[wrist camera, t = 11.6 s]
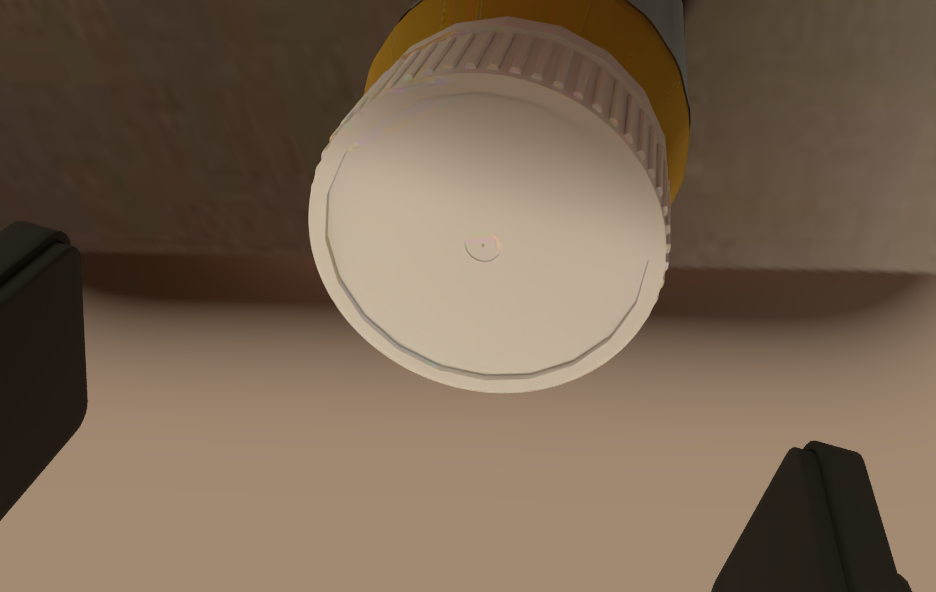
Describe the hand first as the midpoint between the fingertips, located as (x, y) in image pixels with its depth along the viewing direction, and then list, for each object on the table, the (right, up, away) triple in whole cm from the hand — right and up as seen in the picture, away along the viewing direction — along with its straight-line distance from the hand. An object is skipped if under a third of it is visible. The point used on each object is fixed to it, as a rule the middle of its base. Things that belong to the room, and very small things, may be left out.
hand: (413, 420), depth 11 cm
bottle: (+4, +10, +16) cm, 19 cm away
